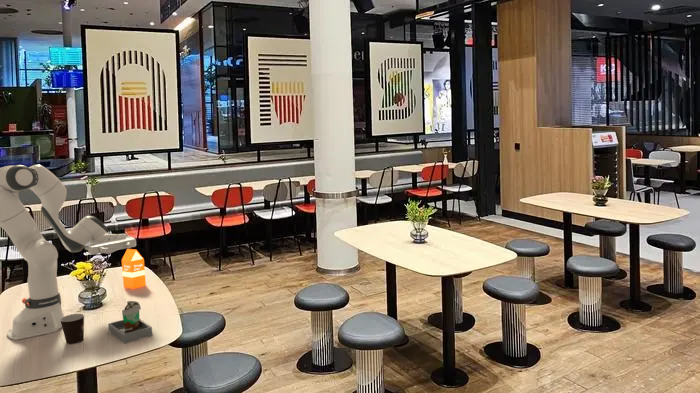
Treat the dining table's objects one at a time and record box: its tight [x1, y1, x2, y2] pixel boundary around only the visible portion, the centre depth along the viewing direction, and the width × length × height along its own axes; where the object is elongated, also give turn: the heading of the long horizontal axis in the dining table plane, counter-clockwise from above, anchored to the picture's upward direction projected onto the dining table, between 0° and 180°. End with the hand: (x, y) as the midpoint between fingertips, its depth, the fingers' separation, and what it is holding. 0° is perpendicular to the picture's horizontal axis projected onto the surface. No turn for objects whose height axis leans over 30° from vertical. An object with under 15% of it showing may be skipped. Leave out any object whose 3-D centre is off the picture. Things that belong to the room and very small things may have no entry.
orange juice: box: [121, 248, 147, 290], centre depth 293 cm, size 8×9×20 cm
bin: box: [107, 318, 153, 345], centre depth 231 cm, size 12×18×4 cm, turn 41°
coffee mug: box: [60, 313, 85, 345], centre depth 226 cm, size 12×9×10 cm
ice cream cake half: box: [121, 300, 141, 333], centre depth 233 cm, size 12×6×10 cm, turn 12°
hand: (118, 248), depth 244 cm, fingers open, 8 cm apart
